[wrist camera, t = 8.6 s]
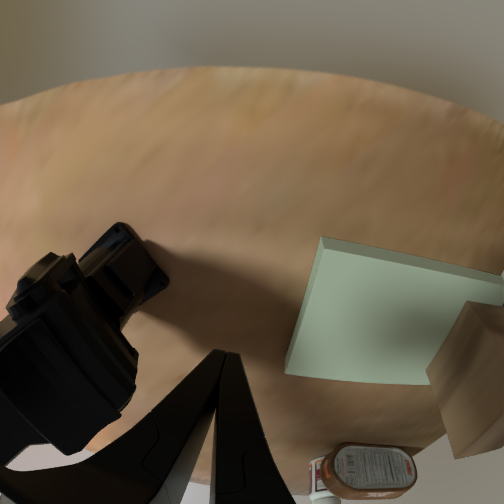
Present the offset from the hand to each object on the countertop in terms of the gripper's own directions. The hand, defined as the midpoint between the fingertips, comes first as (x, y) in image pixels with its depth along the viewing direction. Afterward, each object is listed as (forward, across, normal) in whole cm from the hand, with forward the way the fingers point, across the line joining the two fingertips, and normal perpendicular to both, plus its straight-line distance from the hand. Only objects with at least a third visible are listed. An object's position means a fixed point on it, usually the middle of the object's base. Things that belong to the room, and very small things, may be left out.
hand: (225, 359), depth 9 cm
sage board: (+13, -13, +6) cm, 20 cm away
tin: (+13, -20, +29) cm, 38 cm away
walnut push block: (+11, -20, +6) cm, 24 cm away
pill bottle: (+13, -16, +34) cm, 40 cm away
